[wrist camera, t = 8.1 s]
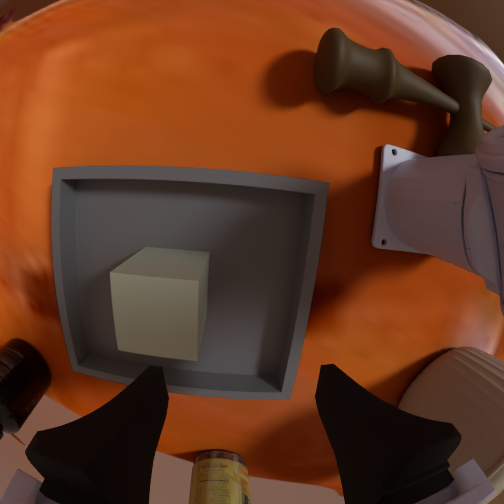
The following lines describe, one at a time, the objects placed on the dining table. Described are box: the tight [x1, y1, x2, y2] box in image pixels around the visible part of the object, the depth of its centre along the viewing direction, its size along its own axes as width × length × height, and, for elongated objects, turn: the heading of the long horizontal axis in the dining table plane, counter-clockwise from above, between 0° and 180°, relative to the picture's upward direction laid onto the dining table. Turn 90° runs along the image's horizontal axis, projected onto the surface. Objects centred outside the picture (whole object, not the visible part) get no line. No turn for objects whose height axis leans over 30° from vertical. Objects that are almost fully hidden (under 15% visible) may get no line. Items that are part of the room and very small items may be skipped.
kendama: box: [314, 28, 495, 157], centre depth 15 cm, size 6×10×20 cm
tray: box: [51, 166, 329, 400], centre depth 18 cm, size 18×16×3 cm
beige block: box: [110, 247, 210, 361], centre depth 16 cm, size 4×4×6 cm
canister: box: [398, 347, 504, 504], centre depth 14 cm, size 18×18×21 cm
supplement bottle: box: [0, 339, 51, 440], centre depth 15 cm, size 7×7×12 cm
